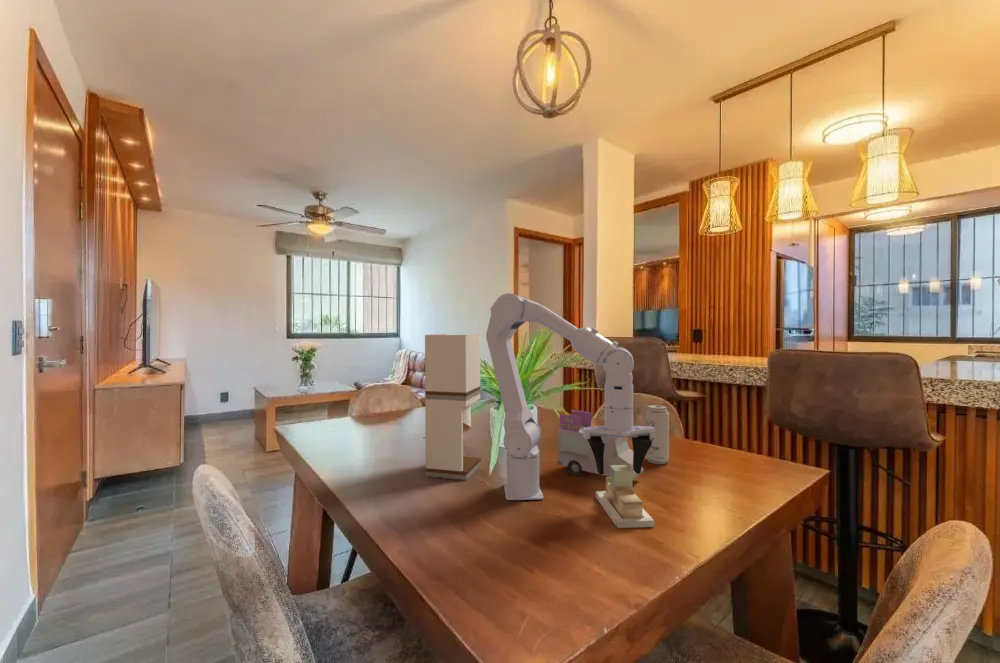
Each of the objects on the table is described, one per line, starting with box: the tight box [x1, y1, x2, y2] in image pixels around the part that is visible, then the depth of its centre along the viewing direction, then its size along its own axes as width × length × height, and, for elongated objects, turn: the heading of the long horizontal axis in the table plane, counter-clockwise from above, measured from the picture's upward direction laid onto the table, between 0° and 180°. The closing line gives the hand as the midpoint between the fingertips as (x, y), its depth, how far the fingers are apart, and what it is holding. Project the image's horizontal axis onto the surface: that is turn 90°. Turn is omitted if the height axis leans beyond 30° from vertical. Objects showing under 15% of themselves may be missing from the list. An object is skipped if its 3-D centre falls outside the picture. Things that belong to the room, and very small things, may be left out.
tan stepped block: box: [605, 476, 643, 518], centre depth 86 cm, size 11×4×5 cm, turn 4°
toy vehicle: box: [556, 409, 645, 482], centre depth 106 cm, size 9×20×15 cm, turn 53°
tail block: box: [609, 465, 633, 490], centre depth 87 cm, size 4×4×4 cm
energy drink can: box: [645, 404, 670, 465], centre depth 117 cm, size 6×6×15 cm
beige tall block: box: [424, 333, 482, 481], centre depth 110 cm, size 11×11×35 cm
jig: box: [595, 490, 655, 529], centre depth 86 cm, size 14×7×1 cm, turn 3°
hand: (618, 472), depth 89 cm, fingers open, 7 cm apart
